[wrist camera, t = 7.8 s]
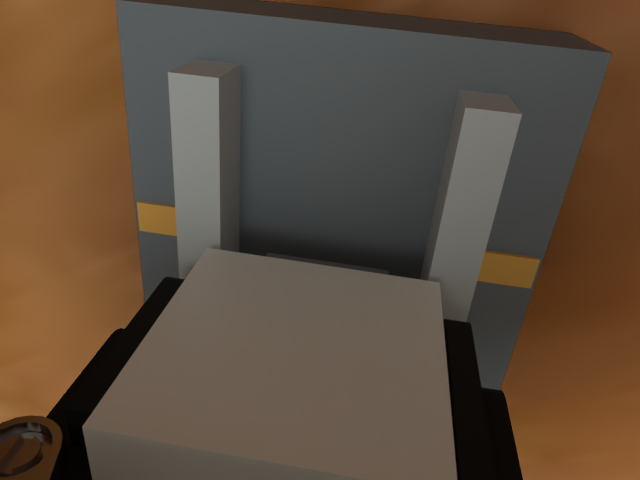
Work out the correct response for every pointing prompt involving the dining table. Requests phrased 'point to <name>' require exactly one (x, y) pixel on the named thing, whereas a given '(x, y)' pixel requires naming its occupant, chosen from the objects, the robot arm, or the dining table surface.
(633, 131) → the dining table surface
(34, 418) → the robot arm
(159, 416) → the fader cap
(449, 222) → the slider panel
